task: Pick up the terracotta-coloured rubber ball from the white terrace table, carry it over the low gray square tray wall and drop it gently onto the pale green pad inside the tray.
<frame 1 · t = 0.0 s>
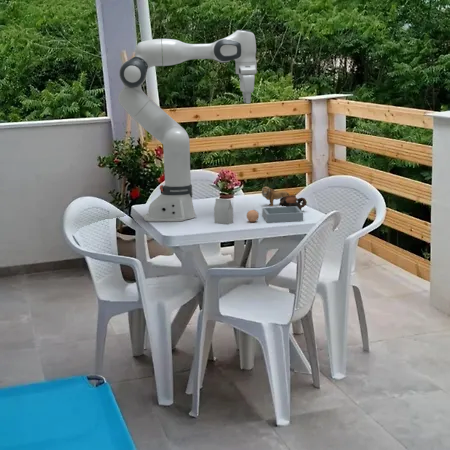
hand: (247, 102, 330), 48 cm above the table, tool pointing down, fingers open, 8 cm apart
rubber ball: (252, 221, 323), on the table
gray square tray: (282, 218, 328), on the table
resting pad: (282, 218, 328), resting in gray square tray
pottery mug: (292, 211, 343), on the table
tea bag: (223, 223, 323), on the table
lion figurine: (276, 206, 358), on the table
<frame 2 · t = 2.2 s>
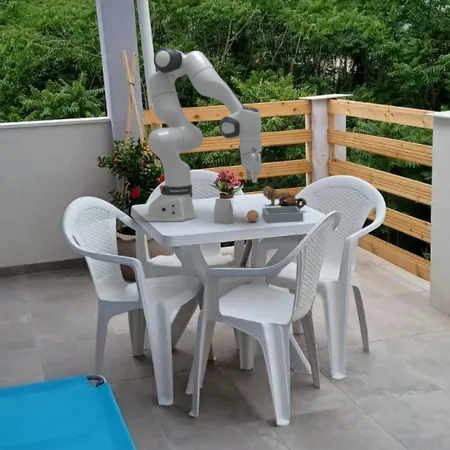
hand: (251, 180, 320), 17 cm above the table, tool pointing down, fingers open, 8 cm apart
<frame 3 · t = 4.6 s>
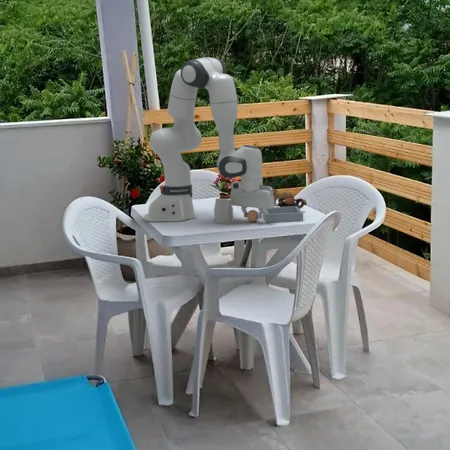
hand: (252, 217, 323), 2 cm above the table, tool pointing down, fingers closed on rubber ball, 5 cm apart
rubber ball: (252, 221, 323), on the table, touching gripper
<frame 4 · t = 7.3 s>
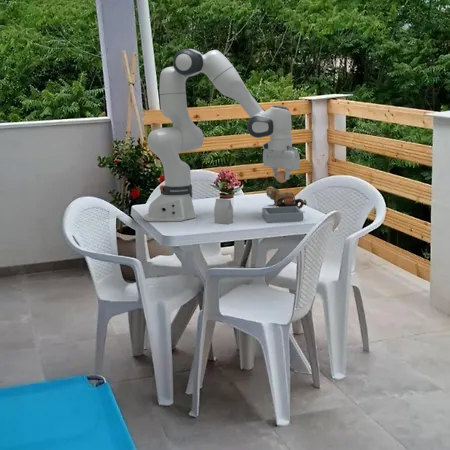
hand: (281, 178, 325), 17 cm above the table, tool pointing down, fingers closed on rubber ball, 5 cm apart
rubber ball: (281, 182, 325), point 15 cm above the table, touching gripper
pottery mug: (290, 213, 341), on the table
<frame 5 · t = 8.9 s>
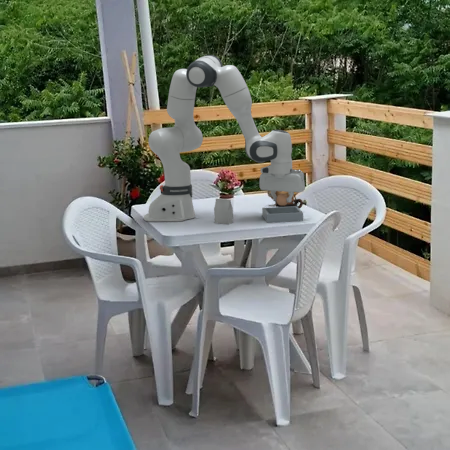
hand: (282, 201, 326), 7 cm above the table, tool pointing down, fingers closed on rubber ball, 5 cm apart
rubber ball: (282, 205, 327), point 6 cm above the table, touching gripper
when the fingers open (4 cm above the table, at t = 9.9 s): rubber ball drops 2 cm, resting on resting pad.
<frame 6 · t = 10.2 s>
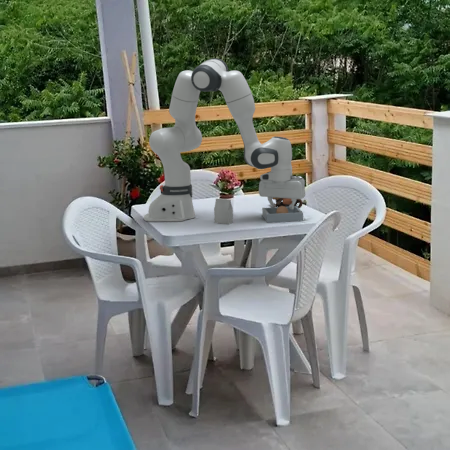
hand: (282, 208, 327), 4 cm above the table, tool pointing down, fingers open, 7 cm apart
rubber ball: (282, 217, 328), resting on resting pad
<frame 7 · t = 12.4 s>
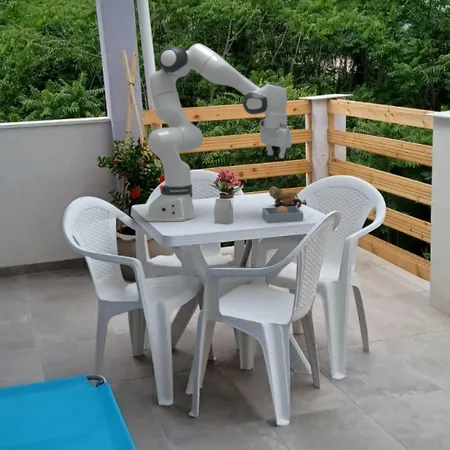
hand: (275, 156, 323), 26 cm above the table, tool pointing down, fingers open, 8 cm apart
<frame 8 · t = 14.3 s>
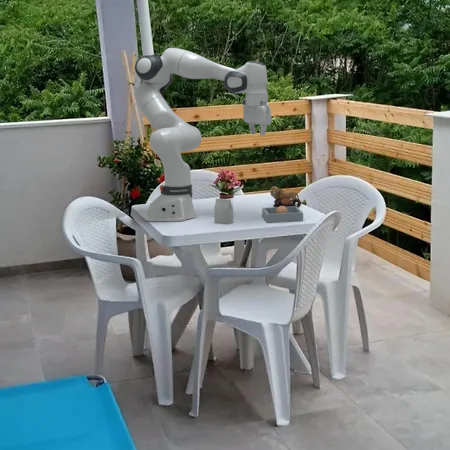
hand: (257, 134, 325), 35 cm above the table, tool pointing down, fingers open, 8 cm apart
at the end: rubber ball inside the target area (0.0 cm from its centre), resting on resting pad; the gripper is holding nothing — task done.
